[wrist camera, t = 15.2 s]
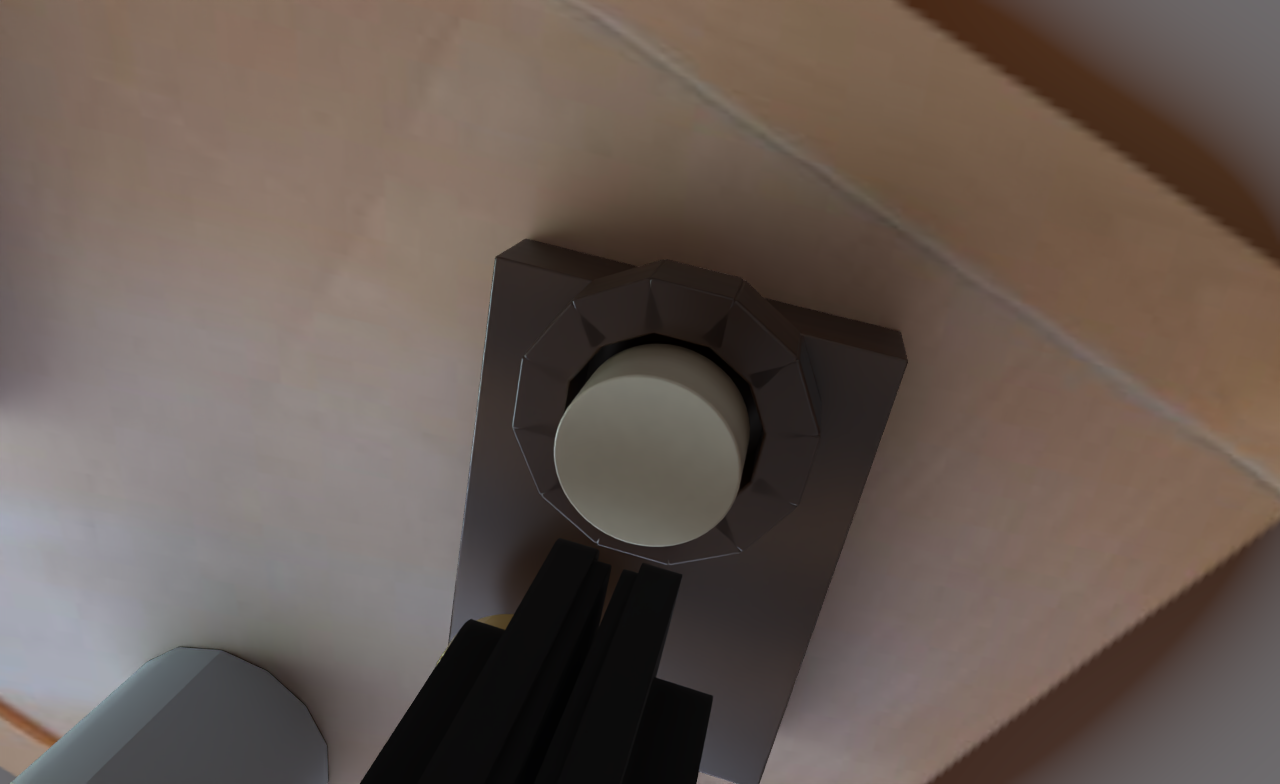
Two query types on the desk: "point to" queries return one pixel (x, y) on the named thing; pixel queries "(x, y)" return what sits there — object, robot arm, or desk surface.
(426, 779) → the robot arm
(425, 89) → the desk surface
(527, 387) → the lamp base
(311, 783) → the cup
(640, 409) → the switch
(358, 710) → the desk surface
